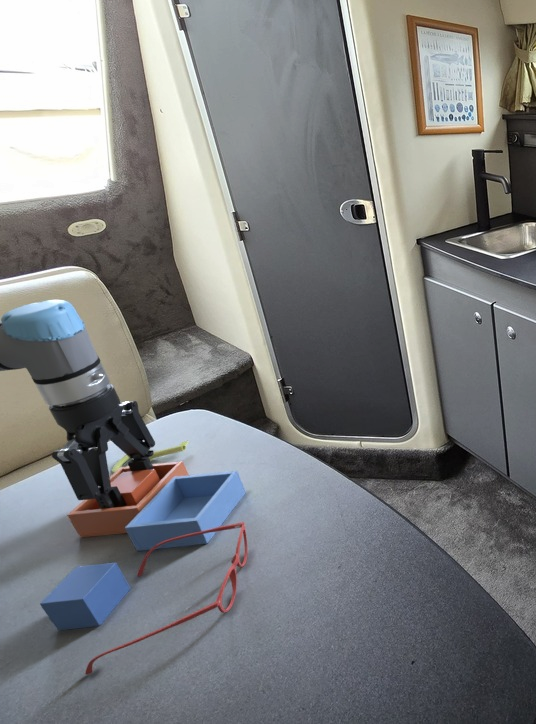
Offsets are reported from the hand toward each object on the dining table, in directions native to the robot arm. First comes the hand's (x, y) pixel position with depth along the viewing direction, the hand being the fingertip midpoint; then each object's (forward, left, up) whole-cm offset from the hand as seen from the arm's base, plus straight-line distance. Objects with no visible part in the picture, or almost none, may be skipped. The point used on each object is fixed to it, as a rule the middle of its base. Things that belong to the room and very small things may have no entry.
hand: (136, 502), depth 88 cm
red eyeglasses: (+20, -19, -2) cm, 28 cm away
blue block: (+8, -19, -1) cm, 21 cm away
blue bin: (+12, -4, -1) cm, 13 cm away
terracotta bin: (0, 0, -1) cm, 1 cm away
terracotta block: (0, 0, -1) cm, 1 cm away
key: (-7, +13, -2) cm, 15 cm away
